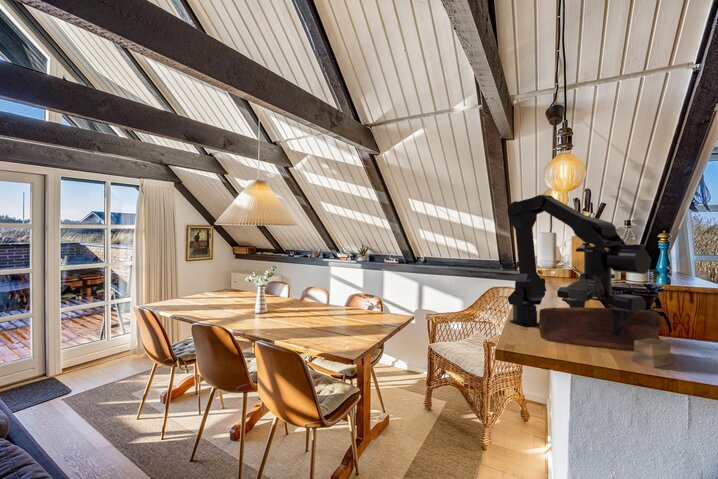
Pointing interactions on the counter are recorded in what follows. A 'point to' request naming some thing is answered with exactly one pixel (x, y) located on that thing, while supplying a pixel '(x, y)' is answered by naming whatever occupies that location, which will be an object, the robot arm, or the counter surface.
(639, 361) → the offcut lower
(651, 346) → the offcut upper
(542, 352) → the counter surface
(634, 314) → the wooden tablet
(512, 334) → the counter surface
